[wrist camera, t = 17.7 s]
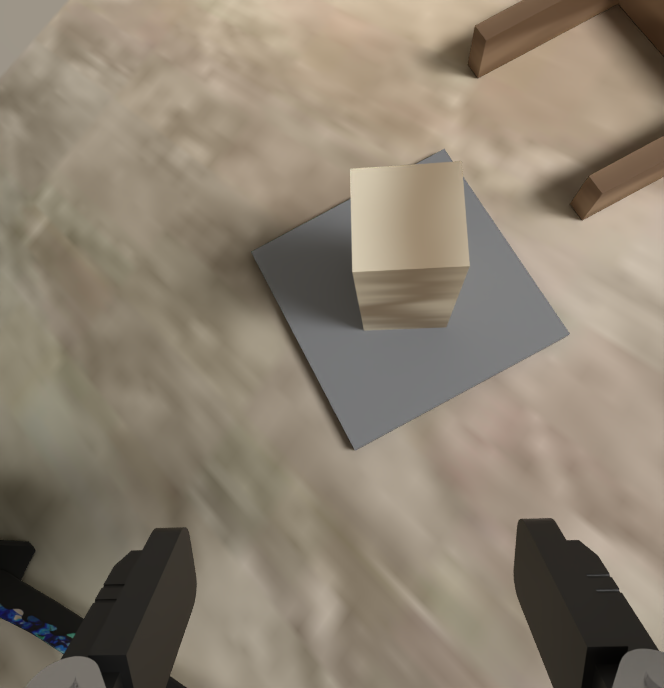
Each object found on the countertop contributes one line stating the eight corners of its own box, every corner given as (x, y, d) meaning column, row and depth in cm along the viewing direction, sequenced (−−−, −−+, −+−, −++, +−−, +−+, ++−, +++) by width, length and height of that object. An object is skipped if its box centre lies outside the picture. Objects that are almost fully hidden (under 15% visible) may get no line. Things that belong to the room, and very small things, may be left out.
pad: (253, 255, 32) (251, 251, 31) (443, 154, 32) (444, 148, 31) (355, 450, 28) (354, 450, 28) (566, 336, 29) (569, 333, 28)
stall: (467, 64, 33) (474, 25, 30) (623, -19, 33) (645, -65, 30) (582, 220, 30) (602, 193, 27) (753, 128, 30) (792, 92, 27)
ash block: (364, 330, 29) (352, 272, 21) (362, 255, 30) (350, 169, 22) (446, 327, 29) (469, 266, 20) (441, 250, 30) (461, 161, 21)
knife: (-135, 489, 33) (-224, 490, 28) (-107, 444, 33) (-191, 438, 29) (295, 816, 23) (259, 892, 19) (325, 747, 24) (297, 805, 19)
